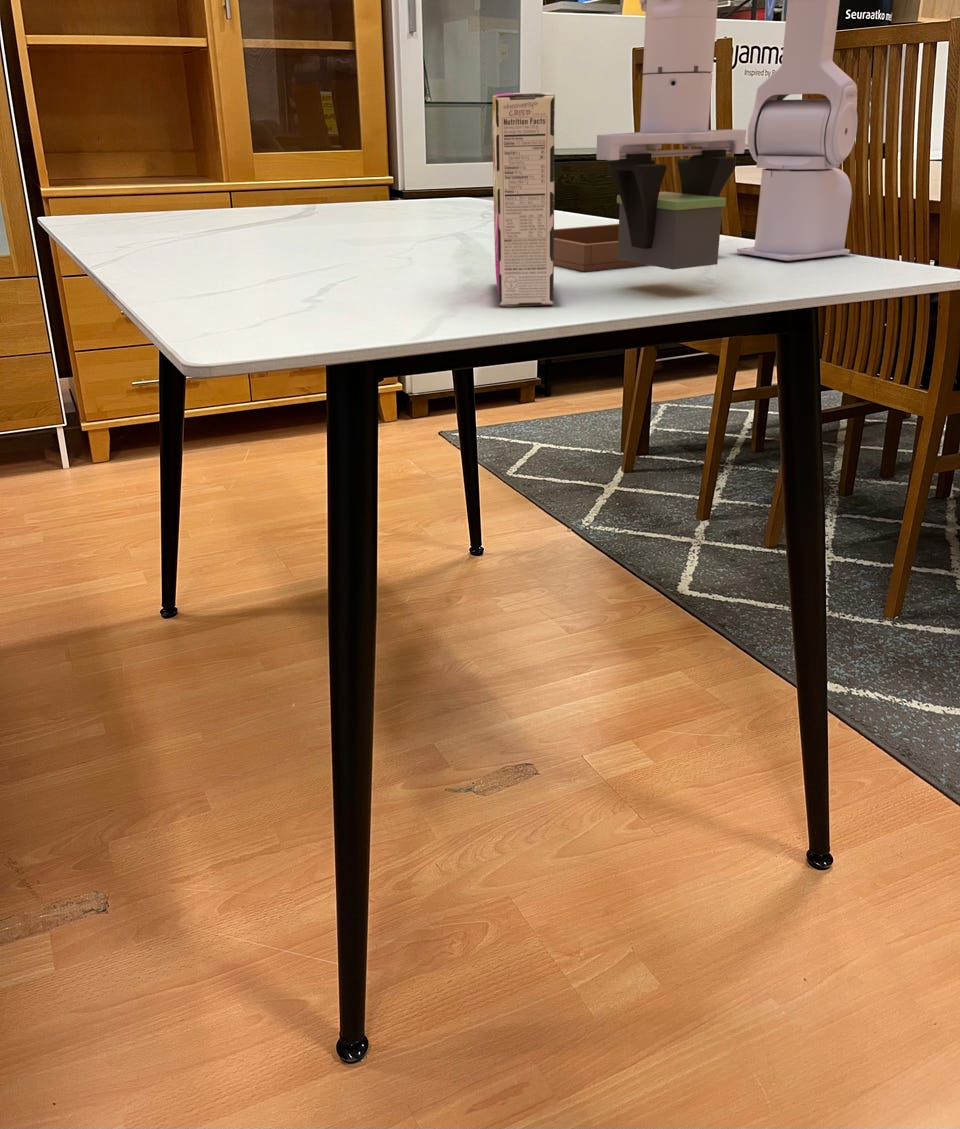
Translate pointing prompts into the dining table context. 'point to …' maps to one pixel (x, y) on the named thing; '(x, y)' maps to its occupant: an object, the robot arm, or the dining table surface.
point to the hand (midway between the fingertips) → (666, 245)
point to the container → (677, 232)
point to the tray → (589, 248)
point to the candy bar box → (524, 197)
